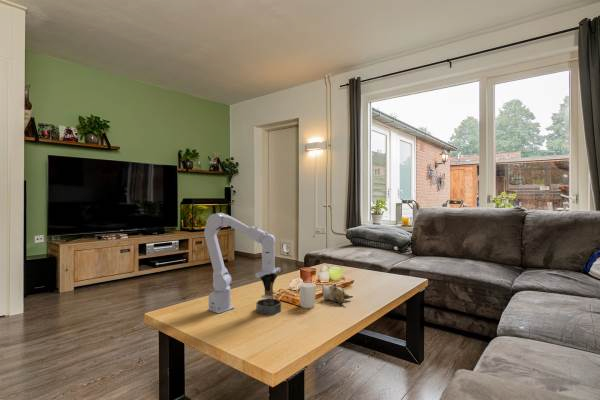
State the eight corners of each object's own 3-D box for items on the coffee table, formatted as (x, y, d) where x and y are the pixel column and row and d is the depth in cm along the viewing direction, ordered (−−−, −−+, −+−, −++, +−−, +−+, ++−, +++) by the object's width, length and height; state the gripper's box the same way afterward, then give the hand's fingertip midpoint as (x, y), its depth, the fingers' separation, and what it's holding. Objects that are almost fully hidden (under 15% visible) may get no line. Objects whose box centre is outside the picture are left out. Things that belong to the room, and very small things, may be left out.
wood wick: (269, 299, 147) (268, 283, 147) (261, 297, 150) (260, 282, 150) (276, 296, 151) (276, 281, 151) (268, 294, 154) (268, 280, 154)
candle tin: (269, 316, 143) (269, 308, 143) (251, 310, 150) (251, 303, 150) (285, 309, 152) (285, 302, 152) (268, 304, 158) (268, 297, 158)
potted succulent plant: (326, 279, 172) (354, 284, 165) (325, 295, 172) (353, 301, 165) (318, 284, 162) (346, 290, 155) (317, 301, 163) (345, 308, 156)
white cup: (314, 309, 152) (314, 287, 152) (297, 307, 154) (297, 286, 154) (317, 303, 160) (317, 283, 160) (301, 302, 162) (301, 282, 161)
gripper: (263, 264, 142) (263, 296, 143) (285, 259, 154) (285, 288, 154) (252, 262, 147) (252, 292, 147) (274, 257, 158) (274, 285, 158)
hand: (268, 290), depth 151 cm, fingers closed on wood wick
